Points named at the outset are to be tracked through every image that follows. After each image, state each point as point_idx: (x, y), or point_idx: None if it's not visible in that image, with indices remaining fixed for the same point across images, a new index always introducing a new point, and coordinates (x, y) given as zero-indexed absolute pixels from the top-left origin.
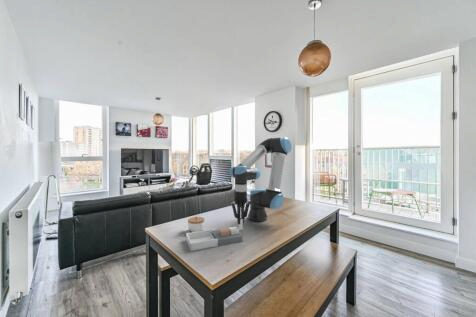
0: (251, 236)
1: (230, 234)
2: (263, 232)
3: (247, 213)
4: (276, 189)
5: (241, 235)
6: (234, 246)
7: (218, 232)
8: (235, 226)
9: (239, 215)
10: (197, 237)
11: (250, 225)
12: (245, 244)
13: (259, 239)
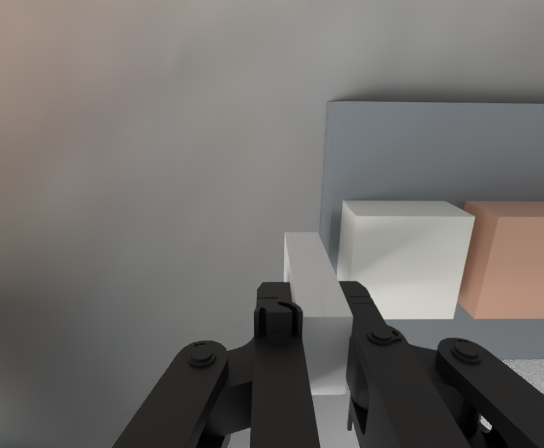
0: (185, 175)
1: None
2: (12, 218)
3: (133, 418)
4: None
5: (347, 124)
6: (474, 11)
7: None
8: None
9: (410, 388)
10: None
11: (92, 412)
12: (339, 5)
13: (127, 62)
